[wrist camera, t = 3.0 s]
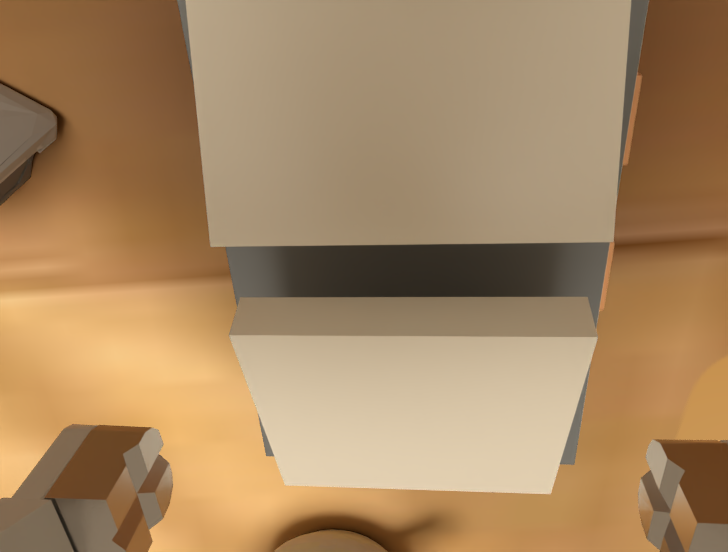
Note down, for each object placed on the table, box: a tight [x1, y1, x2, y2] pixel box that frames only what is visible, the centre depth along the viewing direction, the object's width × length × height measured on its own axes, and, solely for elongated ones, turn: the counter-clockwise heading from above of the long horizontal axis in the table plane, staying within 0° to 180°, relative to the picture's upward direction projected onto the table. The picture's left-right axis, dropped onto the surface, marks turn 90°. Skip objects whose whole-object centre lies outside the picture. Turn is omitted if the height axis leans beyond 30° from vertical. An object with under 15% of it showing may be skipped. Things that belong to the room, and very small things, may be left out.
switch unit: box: [177, 0, 649, 465], centre depth 23 cm, size 24×14×7 cm, turn 3°
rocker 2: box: [229, 297, 598, 494], centre depth 22 cm, size 10×11×2 cm
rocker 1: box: [185, 0, 631, 247], centre depth 16 cm, size 10×11×2 cm
